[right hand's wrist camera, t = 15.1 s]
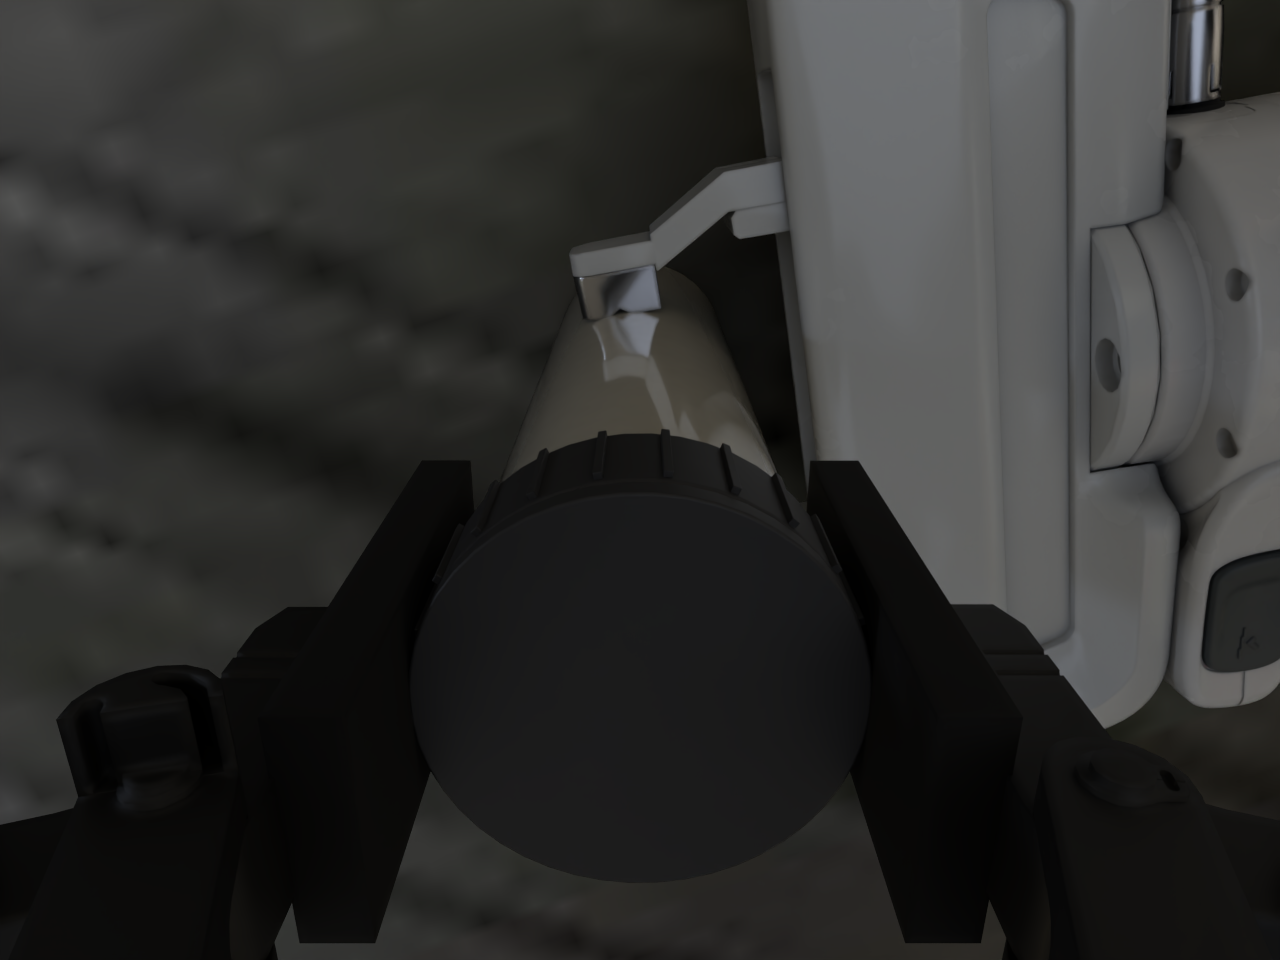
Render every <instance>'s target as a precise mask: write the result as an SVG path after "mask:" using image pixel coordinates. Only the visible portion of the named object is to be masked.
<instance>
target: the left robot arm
mask: <svg viewBox="0 0 1280 960" xmlns="http://www.w3.org/2000/svg"><path fill="white" fill-rule="evenodd" d="M1222 1H1223V0H747V7H748V15H749V23H750V31H751V39H752V48H753V56H754V64H755V72H756V81H757V89H758V97H759V105H760V113H761V122H762V130H763V138H764V146H765V154H766V158H762V159H756V160H751V161H746V162H741V163H736V164H731V165H726V166H721V167H716V168H714V169H713V170H712V171H711V172H710V173H709V174H708V175H706V176H705V177H704V178H703V179H702V180H701V181H700V182H698V183H697V184H696V185H695V186H694V187H693V188H692V189H690V190H689V191H688V192H687V193H686V194H685V195H684V196H682V197H681V198H680V199H679V200H678V201H677V202H676V203H674V204H673V205H672V206H671V207H670V208H669V209H668V210H666V211H665V212H664V213H663V214H662V215H661V216H660V217H658V218H657V219H656V220H655V221H654V222H653V223H652V224H650V225H649V228H650V231H648V232H643V233H637V234H632V235H627V236H621V237H616V238H611V239H605V240H600V241H594V242H590V243H586V244H583V245H580V246H577V247H573V248H572V249H571V251H570V253H569V256H570V262H571V267H572V273H573V276H574V281H575V286H576V290H577V295H578V299H579V304H580V308H581V313H582V317H583V319H584V320H599V319H603V318H607V317H610V316H613V315H614V314H615V313H616V312H617V311H618V310H619V309H622V310H624V311H627V312H629V313H634V312H644V311H649V310H655V309H660V308H661V302H660V294H659V287H658V281H657V274H656V270H657V271H658V270H660V269H661V268H662V267H663V266H664V265H666V264H667V263H668V262H669V261H670V260H672V259H673V258H674V257H675V256H676V255H677V254H679V253H680V252H681V251H682V250H683V249H685V248H686V247H687V246H688V245H689V244H691V243H692V242H693V241H694V240H695V239H697V238H698V237H699V236H700V235H701V234H703V233H704V232H705V231H706V230H707V229H709V228H710V227H711V226H712V225H713V224H715V223H716V222H717V221H718V220H719V219H721V218H722V217H723V216H724V221H725V225H726V226H727V227H728V228H729V230H730V231H731V232H732V233H733V234H734V235H735V236H736V237H738V238H739V239H743V238H749V237H755V236H761V235H767V234H773V233H775V237H776V245H777V253H778V261H779V270H780V278H781V286H782V294H783V302H784V311H785V319H786V327H787V335H788V343H789V352H790V360H791V368H792V376H793V385H794V393H795V401H796V409H797V417H798V426H799V434H800V442H801V450H802V459H803V467H804V475H805V483H806V491H807V497H808V484H809V470H810V461H859V462H860V464H861V465H862V467H863V468H864V470H865V471H866V473H867V475H868V476H869V478H870V479H871V481H872V482H873V484H874V485H875V487H876V489H877V490H878V492H879V493H880V495H881V496H882V498H883V499H884V501H885V503H886V504H887V506H888V507H889V509H890V510H891V512H892V513H893V515H894V517H895V518H896V520H897V521H898V523H899V524H900V526H901V528H902V529H903V531H904V532H905V534H906V535H907V537H908V538H909V540H910V542H911V543H912V545H913V546H914V548H915V549H916V551H917V552H918V554H919V556H920V557H921V559H922V560H923V562H924V563H925V565H926V566H927V568H928V570H929V571H930V573H931V574H932V576H933V577H934V579H935V580H936V582H937V584H938V585H939V587H940V588H941V590H942V591H943V593H944V595H945V596H946V598H947V599H948V601H949V602H950V604H994V605H995V606H997V607H998V608H1000V609H1001V610H1003V611H1004V612H1006V613H1007V614H1009V615H1010V616H1012V617H1013V618H1015V619H1017V620H1018V621H1020V622H1021V623H1023V624H1024V625H1026V627H1027V628H1028V629H1029V631H1030V632H1031V633H1032V635H1033V636H1034V637H1035V639H1036V640H1037V641H1038V642H1039V644H1040V645H1041V646H1042V648H1043V649H1044V655H1048V656H1049V657H1050V658H1051V660H1052V661H1053V662H1054V663H1055V665H1056V666H1057V667H1058V669H1059V670H1060V675H1064V677H1065V678H1066V679H1067V680H1068V682H1069V683H1070V684H1071V686H1072V687H1073V688H1074V690H1075V691H1076V692H1077V694H1078V695H1079V696H1080V698H1081V699H1082V700H1083V701H1084V703H1085V704H1086V705H1087V707H1088V708H1089V709H1090V711H1091V712H1092V713H1093V715H1094V716H1095V717H1096V718H1097V720H1098V721H1099V722H1100V724H1101V725H1102V726H1103V728H1104V729H1106V728H1108V727H1111V726H1113V725H1115V724H1117V723H1119V722H1121V721H1123V720H1125V719H1126V718H1128V717H1129V716H1131V715H1132V714H1134V713H1135V712H1137V711H1138V710H1139V709H1140V708H1142V707H1143V706H1144V705H1145V704H1146V703H1147V702H1148V701H1149V700H1150V698H1151V697H1152V696H1153V695H1154V693H1155V692H1156V690H1157V689H1158V687H1159V685H1160V683H1161V681H1162V680H1164V681H1166V682H1167V683H1168V684H1169V685H1170V686H1171V687H1173V688H1174V689H1175V690H1176V691H1177V692H1179V693H1180V694H1181V695H1182V696H1183V697H1184V698H1186V699H1187V700H1188V701H1189V702H1191V703H1192V704H1194V705H1196V706H1199V707H1204V708H1225V707H1233V706H1239V705H1244V704H1248V703H1252V702H1255V701H1258V700H1260V699H1262V698H1264V697H1266V696H1267V695H1268V694H1270V693H1271V692H1272V691H1273V690H1274V689H1275V688H1276V687H1277V685H1278V684H1279V683H1280V92H1275V93H1270V94H1264V95H1259V96H1254V97H1248V98H1243V99H1238V100H1231V101H1221V82H1222V61H1223V42H1224V5H1222V4H1221V2H1222ZM655 266H656V268H655ZM800 504H801V506H802V507H803V508H804V509H805V511H807V501H805V502H800Z"/></svg>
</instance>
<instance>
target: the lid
mask: <svg viewBox="0 0 1280 960" xmlns="http://www.w3.org/2000/svg"><path fill="white" fill-rule="evenodd" d="M432 581H433V582H434V583H435V584H434V586H433V588H432V591H431V593H430V595H429V597H428V600H427V602H426V604H425V606H424V609H423V611H422V613H421V615H420V618H419V620H418V622H417V624H416V627H415V629H414V630H415V637H416V638H415V641H414V645H413V650H412V655H411V660H410V666H409V693H410V703H411V711H412V720H413V727H414V730H415V734H416V737H417V741H418V744H419V747H420V749H421V751H422V753H423V756H424V758H425V760H426V762H427V765H428V767H429V769H430V770H431V772H432V774H433V775H434V777H435V778H436V780H437V781H438V783H439V785H440V786H441V788H442V789H443V791H444V792H445V793H446V794H447V796H448V797H449V798H450V799H451V800H452V801H453V803H454V804H455V805H456V806H457V807H458V809H459V810H460V811H461V812H462V813H463V814H465V815H466V816H467V817H468V818H469V819H470V820H471V821H472V822H473V823H474V824H475V825H476V826H478V827H479V828H480V829H481V830H483V831H484V832H485V833H487V834H488V835H490V836H491V837H492V838H494V839H495V840H497V841H498V842H499V843H501V844H503V845H504V846H506V847H508V848H510V849H511V850H513V851H515V852H517V853H519V854H520V855H522V856H524V857H526V858H529V859H531V860H533V861H536V862H538V863H541V864H543V865H545V866H548V867H551V868H554V869H557V870H560V871H564V872H567V873H570V874H573V875H578V876H583V877H588V878H593V879H598V880H606V881H616V882H627V883H649V882H665V881H674V880H684V879H689V878H693V877H698V876H703V875H707V874H712V873H715V872H718V871H721V870H724V869H727V868H730V867H733V866H736V865H739V864H741V863H743V862H745V861H748V860H750V859H752V858H754V857H757V856H759V855H761V854H763V853H765V852H766V851H768V850H770V849H771V848H773V847H775V846H777V845H778V844H780V843H782V842H783V841H785V840H786V839H788V838H789V837H790V836H792V835H793V834H794V833H796V832H797V831H798V830H800V829H801V828H802V827H804V826H805V825H806V824H807V823H808V822H809V821H810V820H811V819H812V818H813V817H814V816H815V815H816V814H817V813H819V812H820V811H821V810H822V809H823V808H824V807H825V805H826V804H827V803H828V802H829V800H830V799H831V798H832V797H833V795H834V794H835V793H836V792H837V790H838V789H839V788H840V787H841V785H842V783H843V782H844V780H845V778H846V777H847V775H848V773H849V772H850V770H851V768H852V767H853V765H854V763H855V761H856V758H857V756H858V753H859V751H860V749H861V746H862V744H863V742H864V738H865V734H866V730H867V726H868V718H869V709H870V700H871V691H872V666H871V660H870V655H869V651H868V646H867V642H866V638H865V635H864V632H863V630H862V627H861V626H863V625H866V622H865V619H864V616H863V614H862V612H861V609H860V607H859V605H858V603H857V600H856V598H855V596H854V594H853V592H852V589H851V587H850V585H849V583H848V580H847V578H846V576H845V574H844V572H843V569H842V567H841V565H840V563H839V562H838V559H837V557H836V555H835V553H834V551H833V548H832V546H831V544H830V542H829V539H828V537H827V535H826V533H825V530H824V528H823V526H822V524H821V522H820V519H819V518H818V516H817V515H816V514H814V515H812V516H809V514H808V513H807V512H806V511H805V509H804V508H803V507H802V506H801V504H800V503H799V502H798V500H797V499H796V498H795V497H794V496H793V495H792V494H791V493H790V492H789V491H788V490H787V489H786V487H785V484H784V482H783V479H782V477H781V476H780V475H779V474H777V473H774V475H773V476H772V477H771V476H770V475H769V474H767V473H766V472H764V471H763V470H762V469H760V468H759V467H758V466H756V465H754V464H752V463H751V462H749V461H747V460H745V459H743V458H741V457H739V456H738V455H736V454H734V453H732V451H731V447H730V446H729V445H727V444H724V443H722V445H721V447H720V448H719V447H716V446H713V445H711V444H708V443H705V442H701V441H696V440H692V439H688V438H684V437H680V436H671V435H670V430H669V429H661V434H654V433H636V434H617V435H610V436H607V431H606V430H605V431H599V432H598V436H597V437H596V438H592V439H588V440H584V441H581V442H577V443H573V444H570V445H567V446H564V447H562V448H560V449H557V450H555V451H552V452H550V453H549V452H548V450H547V448H545V449H543V450H541V451H539V453H538V457H537V459H536V460H534V461H532V462H531V463H529V464H527V465H525V466H524V467H522V468H520V469H519V470H518V471H516V472H515V473H514V474H512V475H511V476H510V477H508V478H507V479H506V480H504V481H503V482H502V483H501V484H499V483H498V482H497V481H496V480H495V481H494V482H493V483H492V484H491V485H490V487H489V489H488V492H487V494H486V497H485V499H484V500H483V501H482V503H481V504H480V505H479V507H478V508H477V509H476V511H475V512H474V513H473V515H472V516H471V517H470V519H469V520H468V521H467V523H466V525H465V526H464V525H462V524H460V523H459V524H458V526H457V528H456V529H455V531H454V534H453V536H452V538H451V540H450V542H449V545H448V547H447V549H446V551H445V553H444V556H443V558H442V560H441V562H440V564H439V567H438V569H437V571H436V573H435V575H434V578H433V580H432Z"/></svg>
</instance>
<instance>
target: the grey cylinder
mask: <svg viewBox="0 0 1280 960" xmlns="http://www.w3.org/2000/svg"><path fill="white" fill-rule="evenodd" d="M655 268H656V266H655ZM656 274H657V281H658V287H659V294H660V302H661V308H660V309H655V310H649V311H644V312H634V313H629V312H627V311H624V310H622V309H619V310H618V311H617V312H616V313H615V314H614V315H613V316H610V317H607V318H603V319H599V320H584V319H583V317H582V313H581V308H580V304H579V299H578V295H577V294H576V295H575V296H574V298H573V299H572V301H571V303H570V304H569V306H568V308H567V311H566V313H565V315H564V318H563V320H562V323H561V325H560V328H559V330H558V333H557V336H556V338H555V341H554V343H553V346H552V348H551V351H550V353H549V356H548V358H547V361H546V364H545V366H544V369H543V371H542V374H541V376H540V379H539V381H538V384H537V387H536V389H535V392H534V394H533V397H532V399H531V402H530V404H529V407H528V410H527V412H526V415H525V417H524V420H523V422H522V425H521V427H520V430H519V433H518V435H517V438H516V440H515V443H514V445H513V448H512V450H511V453H510V456H509V458H508V461H507V463H506V466H505V468H504V471H503V473H502V476H501V479H500V481H499V484H501V483H502V482H503V481H504V480H506V479H507V478H508V477H510V476H511V475H512V474H514V473H515V472H516V471H518V470H519V469H520V468H522V467H524V466H525V465H527V464H529V463H531V462H532V461H534V460H536V459H537V457H538V453H539V451H541V450H543V449H545V448H547V450H548V452H549V453H550V452H552V451H555V450H557V449H560V448H562V447H564V446H567V445H570V444H573V443H577V442H581V441H584V440H588V439H592V438H596V437H597V436H598V432H599V431H605V430H606V431H607V436H610V435H617V434H636V433H654V434H661V429H669V430H670V435H671V436H680V437H684V438H688V439H692V440H696V441H701V442H705V443H708V444H711V445H713V446H716V447H719V448H720V447H721V445H722V443H724V444H727V445H729V446H730V447H731V451H732V453H734V454H736V455H738V456H739V457H741V458H743V459H745V460H747V461H749V462H751V463H752V464H754V465H756V466H758V467H759V468H760V469H762V470H763V471H764V472H766V473H767V474H769V475H770V476H771V477H772V476H773V475H774V473H777V474H778V471H777V469H776V466H775V464H774V461H773V459H772V456H771V454H770V451H769V448H768V446H767V443H766V441H765V438H764V436H763V433H762V431H761V428H760V425H759V423H758V420H757V418H756V415H755V413H754V410H753V408H752V405H751V402H750V400H749V397H748V395H747V392H746V390H745V387H744V385H743V382H742V380H741V377H740V374H739V372H738V369H737V367H736V364H735V362H734V359H733V357H732V354H731V351H730V349H729V346H728V344H727V341H726V339H725V336H724V334H723V331H722V328H721V326H720V323H719V321H718V318H717V316H716V313H715V311H714V309H713V307H712V305H711V303H710V301H709V300H708V298H707V297H706V295H705V294H704V293H703V292H702V290H701V289H700V288H699V287H698V286H697V285H696V284H695V283H694V282H692V281H691V280H690V279H688V278H687V277H686V276H684V275H683V274H681V273H679V272H677V271H675V270H673V269H670V268H668V267H665V266H663V267H662V268H661V269H660V270H658V271H657V270H656Z"/></svg>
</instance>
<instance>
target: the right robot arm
mask: <svg viewBox="0 0 1280 960" xmlns="http://www.w3.org/2000/svg"><path fill="white" fill-rule="evenodd" d="M806 512H807V513H808V514H809V516H812V515H814V514H816V515H817V516H818V518H819V519H820V522H821V524H822V526H823V528H824V530H825V533H826V535H827V537H828V539H829V542H830V544H831V546H832V548H833V551H834V553H835V555H836V557H837V559H838V562H839V563H840V565H841V567H842V569H843V572H844V574H845V576H846V578H847V580H848V583H849V585H850V587H851V589H852V592H853V594H854V596H855V598H856V600H857V603H858V605H859V607H860V609H861V612H862V614H863V616H864V619H865V622H866V625H863V626H861V627H862V630H863V632H864V635H865V638H866V642H867V646H868V651H869V655H870V660H871V666H872V691H871V700H870V709H869V718H868V726H867V730H866V734H865V738H864V742H863V744H862V746H861V749H860V751H859V753H858V756H857V758H856V761H855V763H854V765H853V767H852V768H851V770H850V773H851V776H852V779H853V782H854V785H855V788H856V791H857V794H858V798H859V801H860V804H861V807H862V810H863V813H864V816H865V819H866V822H867V826H868V829H869V832H870V835H871V838H872V841H873V844H874V847H875V850H876V853H877V857H878V860H879V863H880V866H881V869H882V872H883V875H884V878H885V881H886V885H887V888H888V891H889V894H890V897H891V900H892V903H893V906H894V909H895V912H896V916H897V919H898V922H899V925H900V928H901V931H902V934H903V937H904V940H905V943H981V939H982V934H983V929H984V923H985V918H986V913H987V907H988V902H989V900H990V902H991V904H992V906H993V909H994V911H995V913H996V915H997V918H998V920H999V922H1000V924H1001V927H1002V929H1003V931H1004V933H1005V936H1006V943H1005V948H1004V953H1003V958H1002V960H1280V821H1278V820H1273V819H1269V818H1264V817H1259V816H1254V815H1250V814H1245V813H1240V812H1236V811H1231V810H1226V809H1223V808H1219V807H1215V806H1212V805H1208V804H1205V802H1204V800H1203V797H1202V796H1201V794H1200V793H1199V791H1198V790H1197V789H1196V787H1195V786H1194V784H1193V783H1192V782H1191V780H1190V779H1189V778H1188V776H1186V775H1185V774H1184V773H1182V772H1181V771H1180V770H1178V769H1177V768H1176V767H1175V766H1173V765H1172V764H1171V763H1169V762H1168V761H1167V760H1165V759H1164V758H1162V757H1159V756H1157V755H1155V754H1153V753H1151V752H1149V751H1147V750H1144V749H1142V748H1140V747H1138V746H1136V745H1132V744H1128V743H1124V742H1121V741H1117V740H1113V739H1112V738H1111V737H1110V736H1109V734H1108V733H1107V732H1106V730H1105V729H1104V728H1103V726H1102V725H1101V724H1100V722H1099V721H1098V720H1097V718H1096V717H1095V716H1094V715H1093V713H1092V712H1091V711H1090V709H1089V708H1088V707H1087V705H1086V704H1085V703H1084V701H1083V700H1082V699H1081V698H1080V696H1079V695H1078V694H1077V692H1076V691H1075V690H1074V688H1073V687H1072V686H1071V684H1070V683H1069V682H1068V680H1067V679H1066V678H1065V677H1064V675H1060V670H1059V669H1058V667H1057V666H1056V665H1055V663H1054V662H1053V661H1052V660H1051V658H1050V657H1049V656H1048V655H1044V649H1043V648H1042V646H1041V645H1040V644H1039V642H1038V641H1037V640H1036V639H1035V637H1034V636H1033V635H1032V633H1031V632H1030V631H1029V629H1028V628H1027V627H1026V625H1024V624H1023V623H1021V622H1020V621H1018V620H1017V619H1015V618H1013V617H1012V616H1010V615H1009V614H1007V613H1006V612H1004V611H1003V610H1001V609H1000V608H998V607H997V606H995V605H994V604H950V602H949V601H948V599H947V598H946V596H945V595H944V593H943V591H942V590H941V588H940V587H939V585H938V584H937V582H936V580H935V579H934V577H933V576H932V574H931V573H930V571H929V570H928V568H927V566H926V565H925V563H924V562H923V560H922V559H921V557H920V556H919V554H918V552H917V551H916V549H915V548H914V546H913V545H912V543H911V542H910V540H909V538H908V537H907V535H906V534H905V532H904V531H903V529H902V528H901V526H900V524H899V523H898V521H897V520H896V518H895V517H894V515H893V513H892V512H891V510H890V509H889V507H888V506H887V504H886V503H885V501H884V499H883V498H882V496H881V495H880V493H879V492H878V490H877V489H876V487H875V485H874V484H873V482H872V481H871V479H870V478H869V476H868V475H867V473H866V471H865V470H864V468H863V467H862V465H861V464H860V462H859V461H810V470H809V484H808V497H807V511H806ZM473 513H474V503H473V490H472V476H471V463H470V461H421V463H420V465H419V466H418V468H417V469H416V471H415V472H414V474H413V475H412V477H411V479H410V480H409V482H408V483H407V485H406V486H405V488H404V489H403V491H402V493H401V494H400V496H399V497H398V499H397V500H396V502H395V504H394V505H393V507H392V508H391V510H390V511H389V513H388V514H387V516H386V518H385V519H384V521H383V522H382V524H381V525H380V527H379V528H378V530H377V532H376V533H375V535H374V536H373V538H372V539H371V541H370V542H369V544H368V546H367V547H366V549H365V550H364V552H363V553H362V555H361V556H360V558H359V560H358V561H357V563H356V564H355V566H354V567H353V569H352V571H351V572H350V574H349V575H348V577H347V578H346V580H345V581H344V583H343V585H342V586H341V588H340V589H339V591H338V592H337V594H336V595H335V597H334V599H333V600H332V602H331V603H330V605H329V606H328V607H287V608H286V609H284V610H283V611H281V612H280V613H278V614H277V615H275V616H274V617H272V618H271V619H269V620H267V621H266V622H264V623H263V624H261V625H260V626H258V627H257V628H256V629H255V630H254V631H253V632H252V634H251V635H250V636H249V638H248V639H247V640H246V642H245V643H244V644H243V646H242V647H241V648H240V650H239V651H238V652H237V658H233V659H232V660H231V662H230V663H229V664H228V665H227V667H226V668H225V669H224V671H223V672H222V677H221V679H219V678H218V677H217V676H215V675H214V674H213V673H212V672H210V671H209V670H207V669H202V668H198V667H193V666H189V665H171V666H155V667H151V668H147V669H142V670H138V671H133V672H129V673H125V674H123V675H120V676H118V677H116V678H113V679H111V680H108V681H106V682H103V683H101V684H98V685H96V686H95V687H93V688H92V689H90V690H88V691H87V692H85V693H84V694H82V695H81V696H79V697H78V698H76V699H75V700H73V701H72V702H71V703H70V704H69V705H68V706H67V707H66V709H65V710H64V711H63V712H62V713H61V714H60V716H59V717H58V718H57V719H56V721H57V724H58V728H59V731H60V735H61V738H62V742H63V745H64V749H65V752H66V756H67V759H68V762H69V766H70V769H71V773H72V776H73V780H74V783H75V787H76V790H77V794H78V799H77V801H76V804H75V806H74V808H72V809H68V810H65V811H61V812H58V813H54V814H49V815H44V816H40V817H35V818H30V819H26V820H21V821H16V822H11V823H7V824H2V825H0V960H278V958H277V953H276V948H275V943H274V941H275V939H276V937H277V935H278V932H279V930H280V928H281V926H282V924H283V921H284V919H285V917H286V915H287V912H288V910H289V908H290V906H291V903H292V904H293V910H294V915H295V920H296V926H297V931H298V936H299V942H300V943H375V942H376V939H377V936H378V933H379V930H380V927H381V923H382V920H383V917H384V914H385V911H386V908H387V905H388V902H389V899H390V895H391V892H392V889H393V886H394V883H395V880H396V877H397V874H398V871H399V868H400V864H401V861H402V858H403V855H404V852H405V849H406V846H407V843H408V840H409V837H410V833H411V830H412V827H413V824H414V821H415V818H416V815H417V812H418V809H419V805H420V802H421V799H422V796H423V793H424V790H425V787H426V784H427V781H428V778H429V774H430V771H431V770H430V769H429V767H428V765H427V762H426V760H425V758H424V756H423V753H422V751H421V749H420V747H419V744H418V741H417V737H416V734H415V730H414V727H413V720H412V711H411V703H410V693H409V666H410V660H411V655H412V650H413V645H414V641H415V638H416V637H415V630H414V629H415V627H416V624H417V622H418V620H419V618H420V615H421V613H422V611H423V609H424V606H425V604H426V602H427V600H428V597H429V595H430V593H431V591H432V588H433V586H434V584H435V583H434V582H433V581H432V580H433V578H434V575H435V573H436V571H437V569H438V567H439V564H440V562H441V560H442V558H443V556H444V553H445V551H446V549H447V547H448V545H449V542H450V540H451V538H452V536H453V534H454V531H455V529H456V528H457V526H458V524H459V523H460V524H462V525H464V526H465V525H466V523H467V521H468V520H469V519H470V517H471V516H472V515H473Z"/></svg>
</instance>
